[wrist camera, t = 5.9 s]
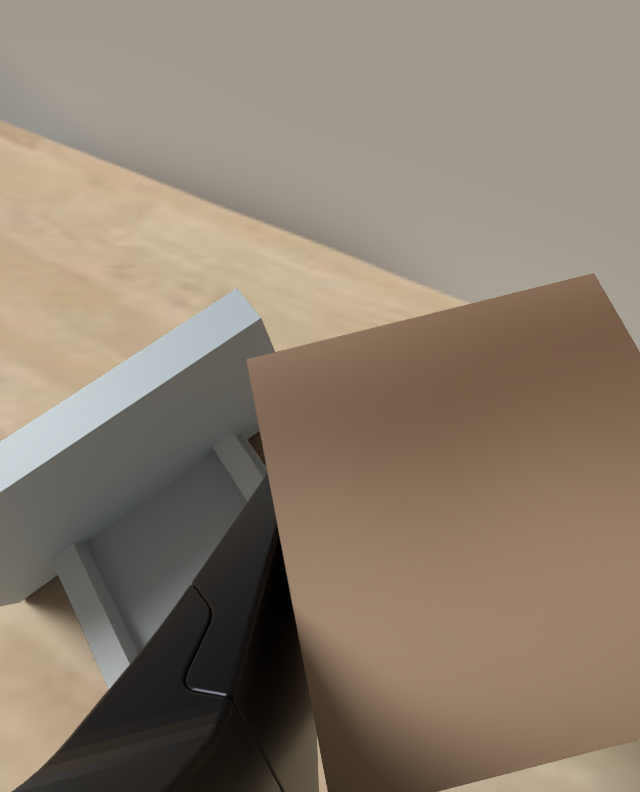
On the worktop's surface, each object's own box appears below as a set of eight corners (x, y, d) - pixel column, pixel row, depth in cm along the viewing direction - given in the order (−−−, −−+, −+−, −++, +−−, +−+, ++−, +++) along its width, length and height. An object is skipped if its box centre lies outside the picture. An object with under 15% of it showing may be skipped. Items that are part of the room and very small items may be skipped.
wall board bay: (395, 534, 21) (431, 533, 12) (90, 779, 19) (-179, 1029, 9) (281, 384, 24) (237, 287, 15) (9, 575, 22) (-252, 605, 12)
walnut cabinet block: (504, 588, 14) (834, 689, 4) (346, 628, 14) (332, 817, 4) (448, 435, 16) (594, 272, 6) (310, 469, 16) (245, 359, 6)
